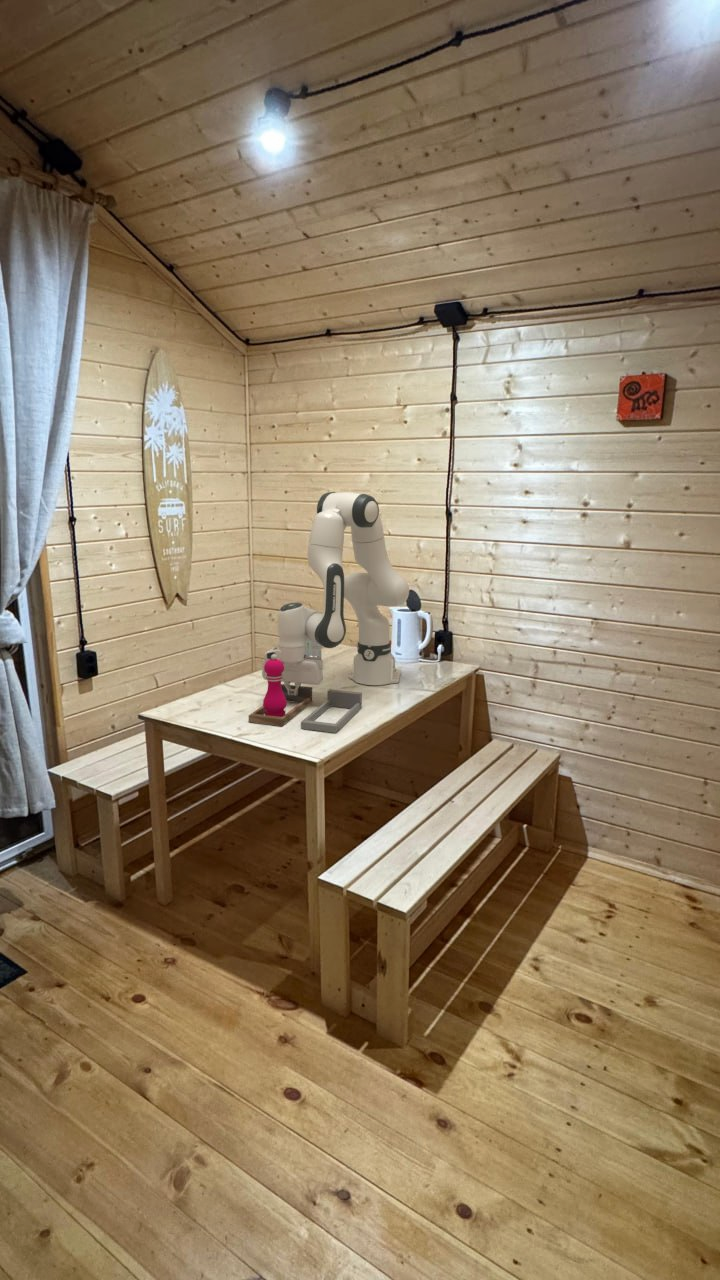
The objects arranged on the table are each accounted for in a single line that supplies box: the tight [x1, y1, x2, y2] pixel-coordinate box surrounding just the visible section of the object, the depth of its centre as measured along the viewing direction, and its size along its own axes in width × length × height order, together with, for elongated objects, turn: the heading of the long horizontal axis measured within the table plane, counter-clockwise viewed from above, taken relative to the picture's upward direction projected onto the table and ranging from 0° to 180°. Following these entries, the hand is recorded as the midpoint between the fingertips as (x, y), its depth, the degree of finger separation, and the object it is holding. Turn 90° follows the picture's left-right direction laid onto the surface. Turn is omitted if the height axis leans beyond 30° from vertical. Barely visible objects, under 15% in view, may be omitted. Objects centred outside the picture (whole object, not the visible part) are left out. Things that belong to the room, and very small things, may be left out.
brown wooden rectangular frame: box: [248, 683, 313, 727], centre depth 217 cm, size 24×11×5 cm, turn 162°
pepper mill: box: [262, 654, 288, 717], centre depth 211 cm, size 7×7×20 cm
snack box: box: [306, 640, 323, 661], centre depth 271 cm, size 21×6×15 cm, turn 17°
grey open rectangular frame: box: [300, 688, 363, 734], centre depth 212 cm, size 24×11×5 cm, turn 162°
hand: (292, 694), depth 225 cm, fingers closed
